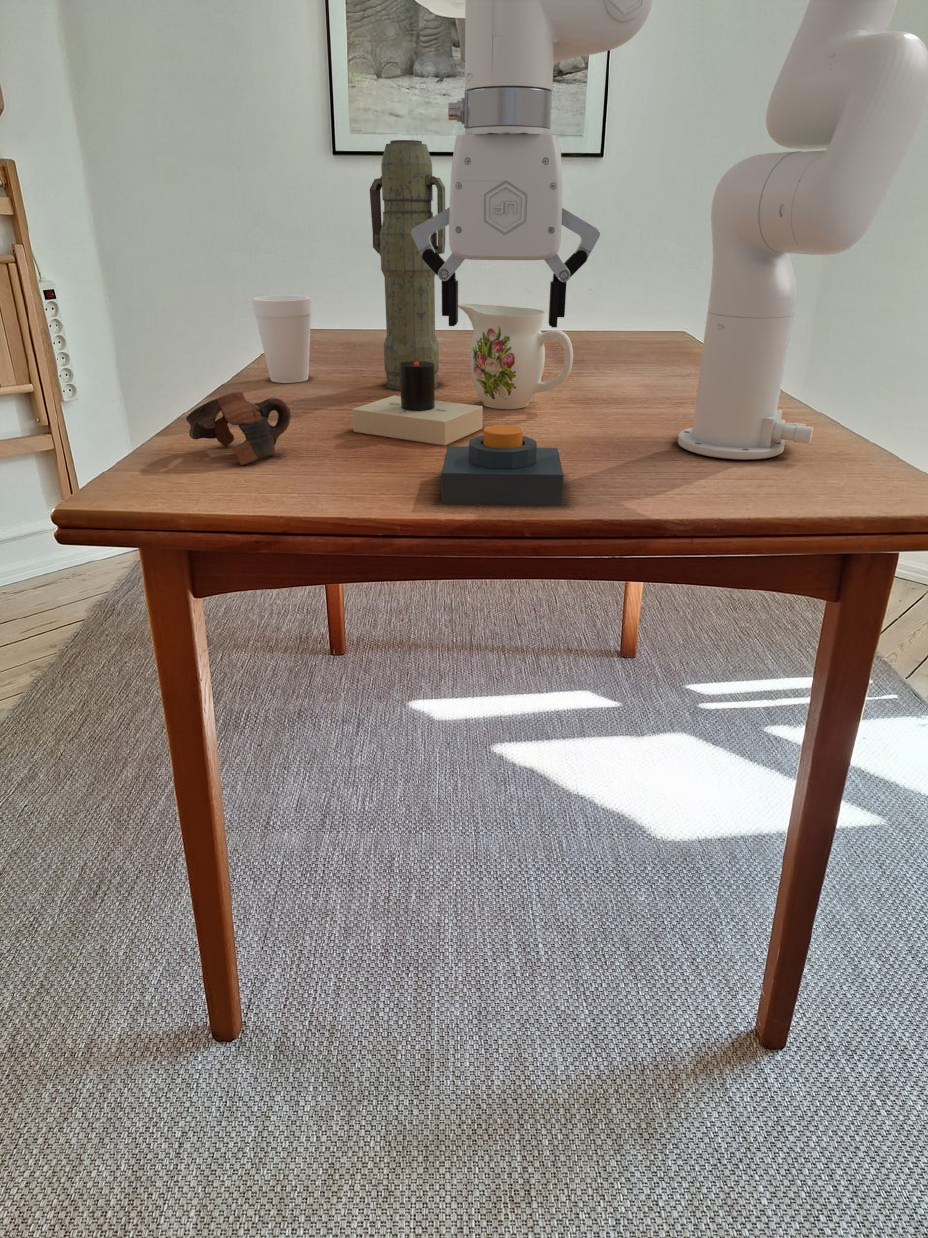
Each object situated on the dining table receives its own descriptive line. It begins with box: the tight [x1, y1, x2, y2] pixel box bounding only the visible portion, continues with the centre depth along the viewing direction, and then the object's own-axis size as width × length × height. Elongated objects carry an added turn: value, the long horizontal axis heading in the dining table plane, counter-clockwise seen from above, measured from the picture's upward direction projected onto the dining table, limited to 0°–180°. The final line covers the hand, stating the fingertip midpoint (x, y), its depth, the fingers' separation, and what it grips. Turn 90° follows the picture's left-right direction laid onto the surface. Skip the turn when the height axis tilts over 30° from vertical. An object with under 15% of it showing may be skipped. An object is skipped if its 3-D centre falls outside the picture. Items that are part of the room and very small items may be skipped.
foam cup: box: [251, 294, 313, 384], centre depth 136 cm, size 10×9×13 cm
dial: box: [400, 361, 436, 411], centre depth 105 cm, size 4×4×6 cm
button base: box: [440, 435, 564, 506], centre depth 84 cm, size 12×10×5 cm
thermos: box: [369, 139, 446, 391], centre depth 127 cm, size 9×12×35 cm
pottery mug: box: [185, 391, 292, 466], centre depth 97 cm, size 12×10×8 cm
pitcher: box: [458, 303, 574, 410], centre depth 118 cm, size 11×18×14 cm, turn 65°
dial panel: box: [351, 394, 484, 446], centre depth 107 cm, size 14×10×3 cm
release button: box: [482, 424, 524, 448], centre depth 83 cm, size 4×4×2 cm
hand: (502, 324), depth 78 cm, fingers open, 9 cm apart
